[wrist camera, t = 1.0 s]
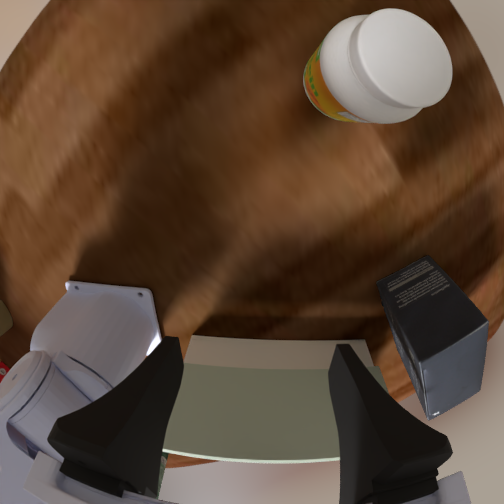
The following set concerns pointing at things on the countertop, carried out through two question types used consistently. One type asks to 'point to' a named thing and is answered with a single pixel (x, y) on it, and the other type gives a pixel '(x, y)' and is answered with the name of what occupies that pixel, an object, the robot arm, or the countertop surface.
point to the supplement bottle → (378, 68)
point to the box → (435, 334)
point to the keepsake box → (269, 353)
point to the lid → (255, 415)
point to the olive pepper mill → (4, 319)
